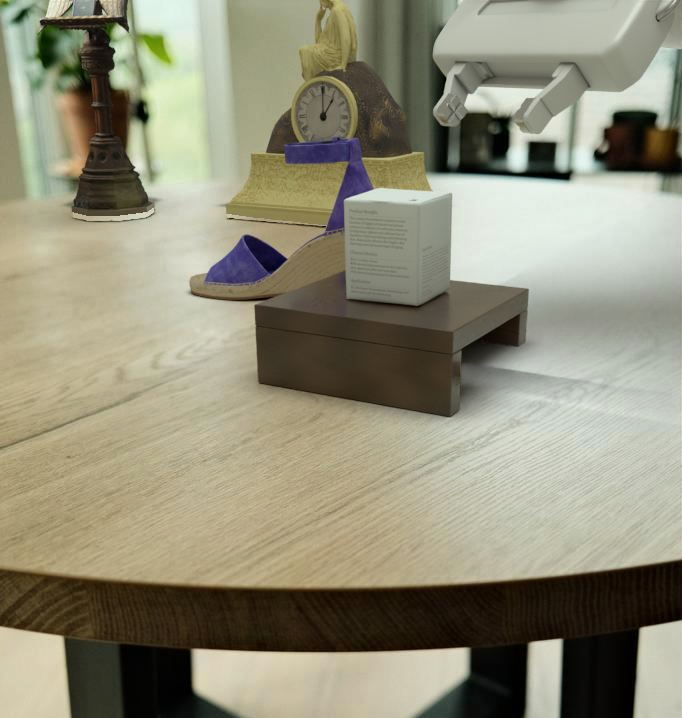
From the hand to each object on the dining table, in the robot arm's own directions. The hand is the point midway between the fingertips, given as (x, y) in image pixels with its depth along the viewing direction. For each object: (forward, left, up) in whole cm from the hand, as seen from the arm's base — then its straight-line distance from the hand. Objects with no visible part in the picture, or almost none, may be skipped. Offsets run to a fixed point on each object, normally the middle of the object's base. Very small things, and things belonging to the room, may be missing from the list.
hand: (481, 124), depth 75 cm
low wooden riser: (+4, +6, -18) cm, 19 cm away
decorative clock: (+45, -54, -18) cm, 72 cm away
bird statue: (+74, -41, -18) cm, 86 cm away
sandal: (+26, -12, -18) cm, 33 cm away
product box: (+4, +6, -12) cm, 14 cm away
